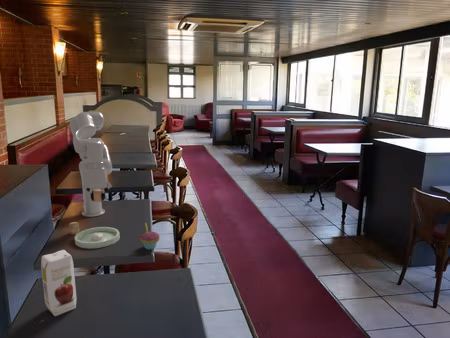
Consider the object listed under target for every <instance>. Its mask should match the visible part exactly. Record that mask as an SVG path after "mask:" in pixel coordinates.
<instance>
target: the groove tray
mask: <svg viewBox="0 0 450 338" xmlns="http://www.w3.org/2000/svg"><path fill="white" fill-rule="evenodd" d="M120 234H121V233H120V231H119V229H117V228H115V227H108V226H97V227H91V228H87V229H83V230H81V231H79V233H77V234H76V235H75V236H74V244H75V245H76V246H77V247H79V248H82V249H99V248H105V247H108V246H112V245H114V244H116V243H117V242H119V240H120V238H121V237H120V236H121V235H120Z"/></svg>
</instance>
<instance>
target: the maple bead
mask: <svg viewBox="0 0 450 338" xmlns="http://www.w3.org/2000/svg"><path fill="white" fill-rule="evenodd" d="M79 232H80V224H79V222H77V221H74V222H73V221H72V222H70V223H69V234H70V235H71V236H74V235H75V236H76V234H77V233H79Z"/></svg>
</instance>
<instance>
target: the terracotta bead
mask: <svg viewBox="0 0 450 338" xmlns="http://www.w3.org/2000/svg"><path fill="white" fill-rule="evenodd" d="M101 194H102V190H95V191H93V197H94V202H101V203H102V202H103V201H102V196H101Z"/></svg>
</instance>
